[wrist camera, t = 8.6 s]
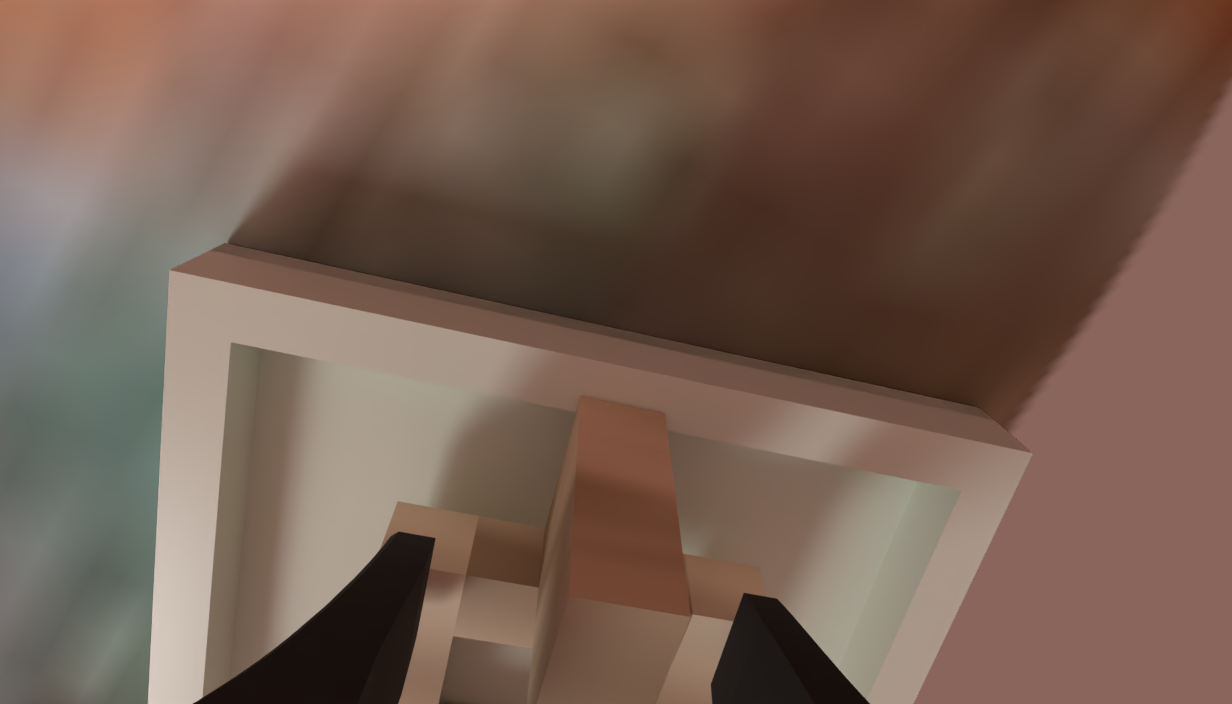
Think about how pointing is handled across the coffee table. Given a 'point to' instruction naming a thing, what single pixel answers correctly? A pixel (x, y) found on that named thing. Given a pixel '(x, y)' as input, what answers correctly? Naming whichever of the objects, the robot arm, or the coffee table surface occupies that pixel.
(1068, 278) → the coffee table surface
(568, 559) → the collar
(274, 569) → the tray
